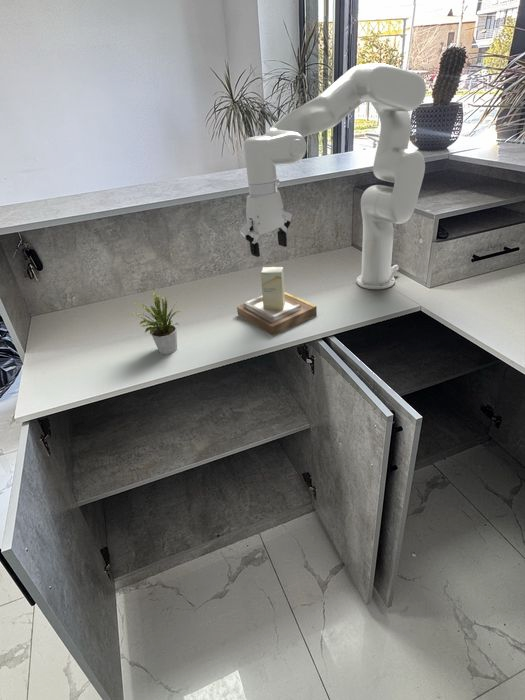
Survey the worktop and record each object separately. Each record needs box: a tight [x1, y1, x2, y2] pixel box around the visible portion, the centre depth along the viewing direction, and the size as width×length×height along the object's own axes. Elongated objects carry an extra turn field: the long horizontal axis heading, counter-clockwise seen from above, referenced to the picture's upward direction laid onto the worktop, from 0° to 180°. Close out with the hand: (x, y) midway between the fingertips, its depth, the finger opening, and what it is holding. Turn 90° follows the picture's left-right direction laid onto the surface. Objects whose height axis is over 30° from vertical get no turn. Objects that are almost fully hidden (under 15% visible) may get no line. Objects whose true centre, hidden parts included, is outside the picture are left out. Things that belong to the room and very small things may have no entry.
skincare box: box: [260, 266, 285, 310], centre depth 130 cm, size 6×4×12 cm
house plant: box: [131, 291, 181, 355], centre depth 120 cm, size 14×14×16 cm
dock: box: [236, 290, 318, 337], centre depth 134 cm, size 17×18×4 cm
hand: (269, 250), depth 124 cm, fingers open, 9 cm apart
